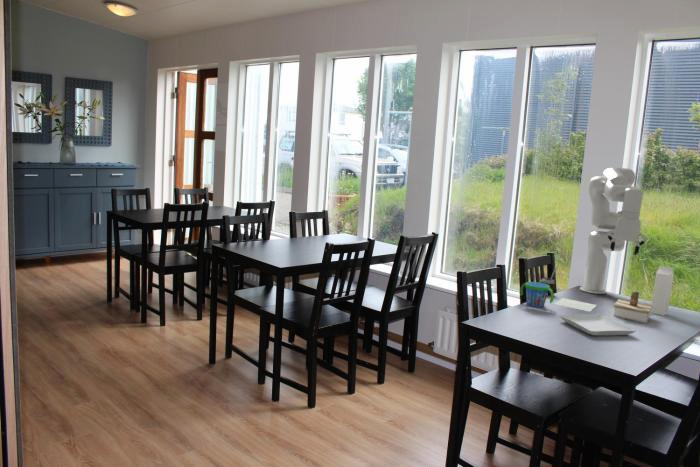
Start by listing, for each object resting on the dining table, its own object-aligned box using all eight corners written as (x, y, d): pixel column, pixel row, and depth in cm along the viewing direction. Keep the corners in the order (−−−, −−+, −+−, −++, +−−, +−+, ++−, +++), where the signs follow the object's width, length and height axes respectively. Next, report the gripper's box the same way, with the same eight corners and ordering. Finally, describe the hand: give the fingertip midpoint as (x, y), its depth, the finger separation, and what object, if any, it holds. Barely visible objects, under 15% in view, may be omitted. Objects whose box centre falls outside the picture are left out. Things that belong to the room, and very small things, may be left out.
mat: (561, 299, 284) (561, 297, 284) (596, 306, 276) (596, 305, 276) (553, 305, 271) (553, 304, 271) (590, 312, 262) (590, 311, 262)
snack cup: (513, 303, 269) (516, 281, 267) (526, 300, 276) (529, 279, 274) (543, 312, 257) (546, 289, 256) (556, 309, 264) (559, 287, 262)
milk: (663, 316, 268) (671, 268, 264) (649, 312, 272) (657, 266, 268) (667, 314, 272) (675, 267, 269) (653, 310, 276) (661, 264, 273)
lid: (618, 301, 270) (620, 286, 269) (652, 307, 262) (654, 292, 261) (613, 307, 258) (615, 291, 257) (648, 314, 251) (651, 298, 249)
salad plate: (590, 339, 225) (591, 330, 224) (557, 321, 245) (558, 313, 245) (636, 338, 231) (637, 330, 230) (600, 321, 251) (601, 314, 250)
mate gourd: (537, 295, 289) (541, 265, 286) (539, 291, 296) (543, 262, 294) (553, 297, 286) (557, 267, 284) (555, 294, 293) (559, 265, 291)
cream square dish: (618, 311, 270) (619, 301, 269) (649, 317, 263) (651, 307, 262) (613, 317, 259) (614, 307, 258) (646, 323, 252) (647, 313, 251)
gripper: (608, 213, 266) (602, 250, 270) (650, 219, 258) (643, 257, 261) (610, 212, 273) (605, 248, 276) (652, 217, 264) (645, 254, 267)
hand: (623, 252), depth 268 cm, fingers open, 9 cm apart
